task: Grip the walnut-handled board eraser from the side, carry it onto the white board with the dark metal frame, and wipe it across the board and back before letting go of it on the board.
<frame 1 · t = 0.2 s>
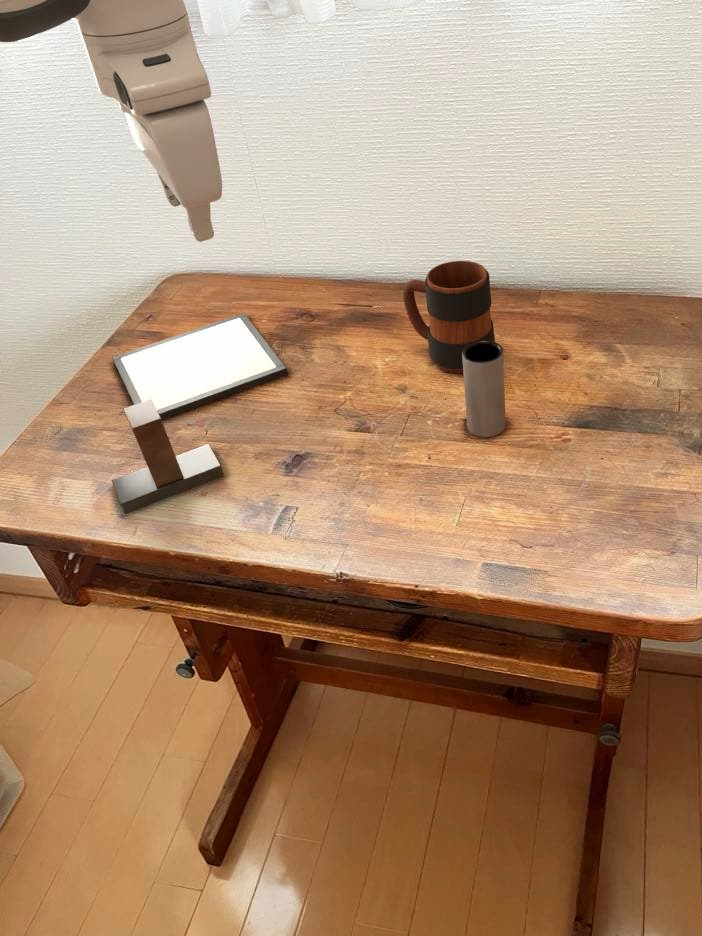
hand: (190, 219, 80), 29 cm above the table, tool pointing down, fingers open, 8 cm apart
mug: (451, 356, 111), on the table
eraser: (169, 482, 98), on the table
board: (198, 368, 115), on the table
planter: (486, 427, 99), on the table
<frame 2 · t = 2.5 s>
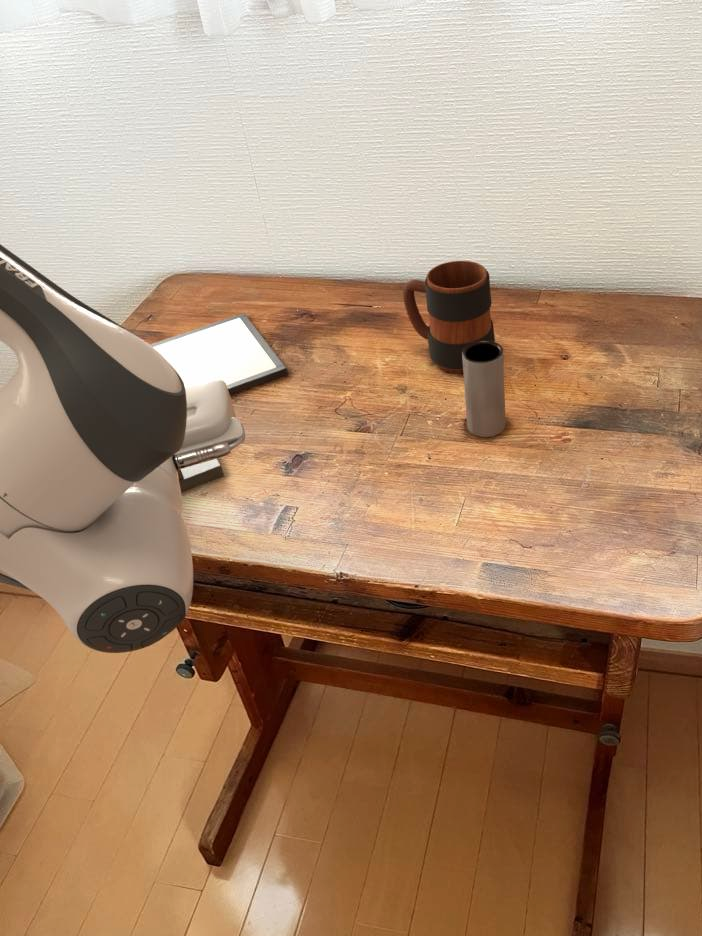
hand: (113, 393, 76), 20 cm above the table, tool horizontal, fingers open, 8 cm apart
nothing on the table moved.
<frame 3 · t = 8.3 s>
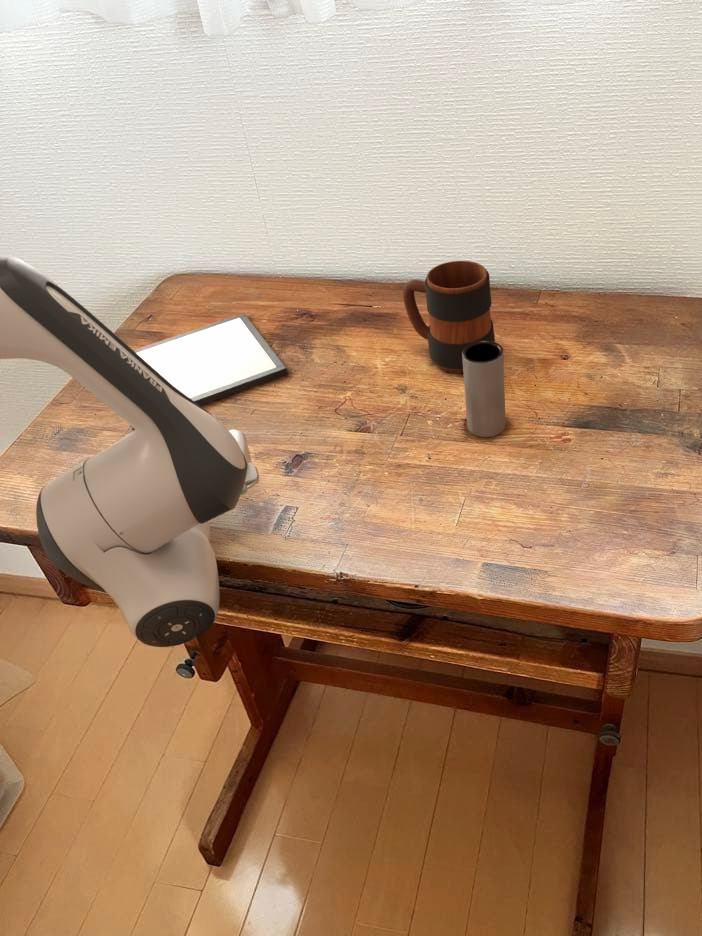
hand: (152, 437, 94), 6 cm above the table, tool horizontal, fingers closed on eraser, 3 cm apart
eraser: (170, 482, 98), on the table, touching gripper
everything else where it was.
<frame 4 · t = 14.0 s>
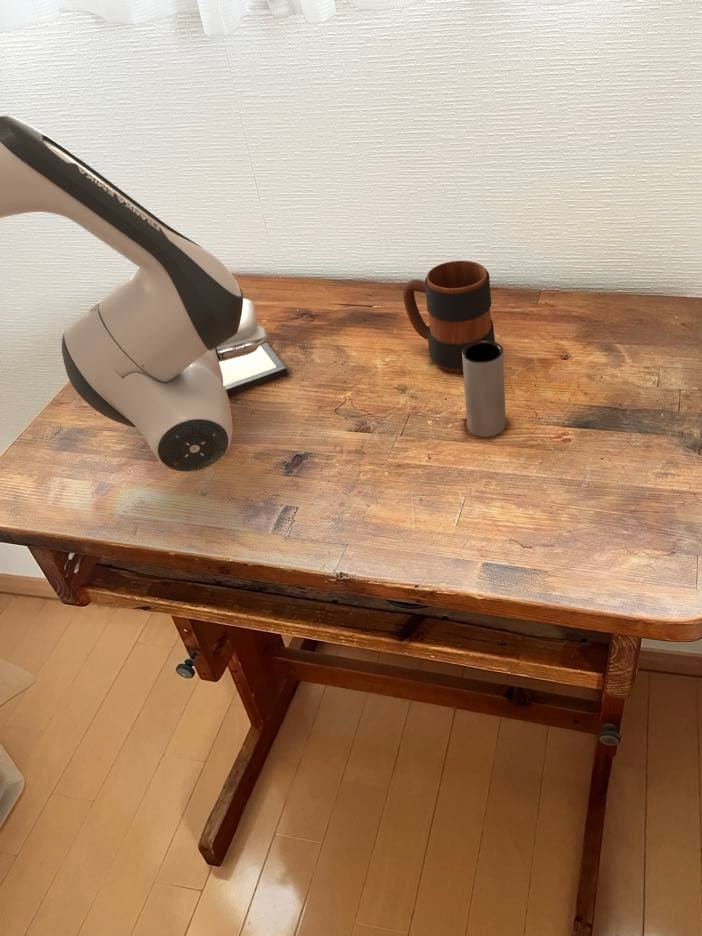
hand: (169, 310, 103), 12 cm above the table, tool horizontal, fingers closed on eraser, 3 cm apart
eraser: (184, 356, 106), point 6 cm above the table, touching gripper
everything else where it was.
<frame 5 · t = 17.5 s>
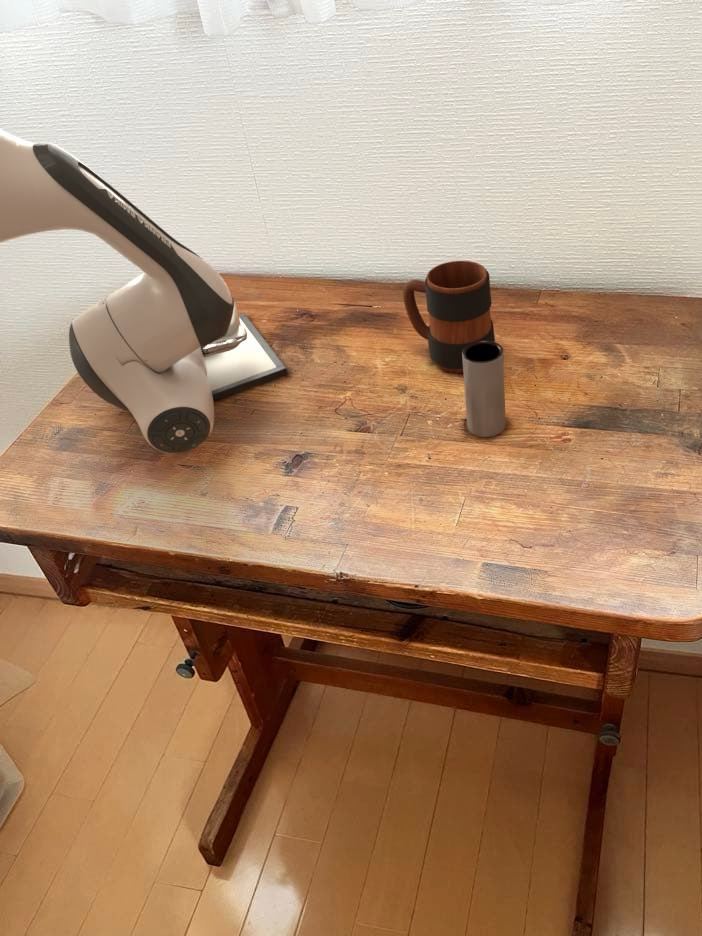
hand: (159, 311, 114), 7 cm above the table, tool horizontal, fingers closed on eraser, 3 cm apart
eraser: (174, 352, 117), point 1 cm above the table, touching gripper
everything else where it was.
when the fingers open (7 cm above the table, at t = 20.2 s): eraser stays where it is, resting on board.
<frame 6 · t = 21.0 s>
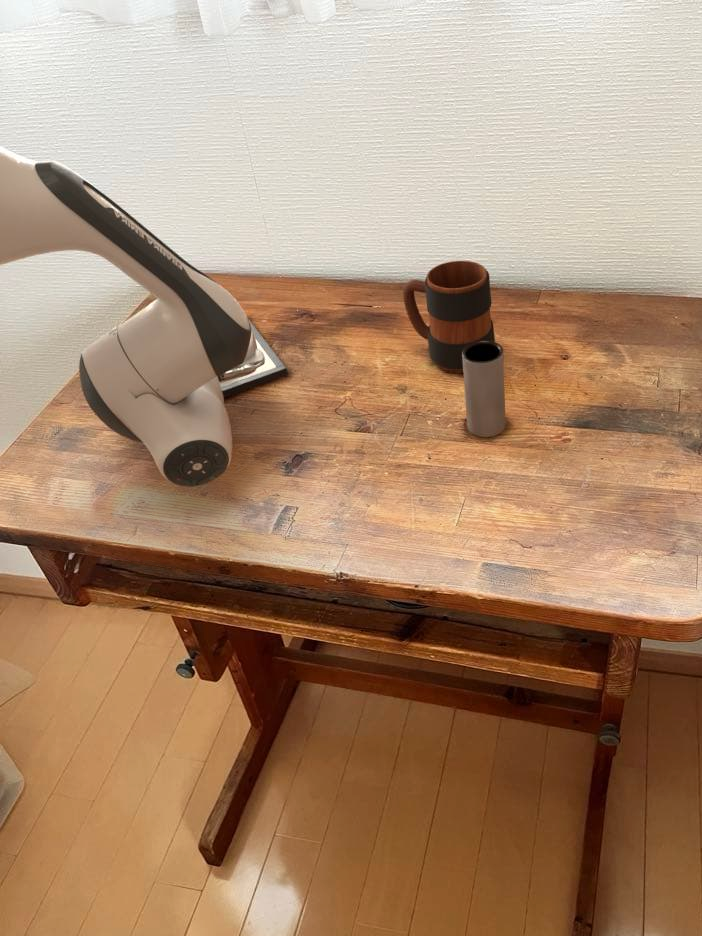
hand: (172, 332, 109), 7 cm above the table, tool horizontal, fingers open, 8 cm apart
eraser: (187, 375, 112), point 1 cm above the table, touching board
everything else where it was.
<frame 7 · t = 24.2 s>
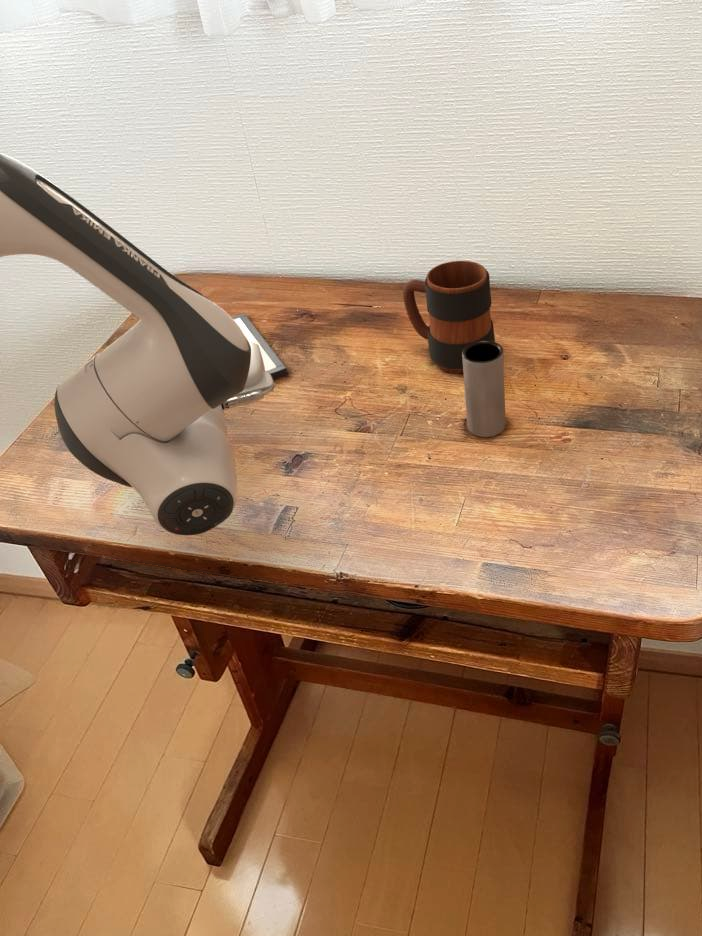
hand: (169, 352, 97), 11 cm above the table, tool horizontal, fingers open, 8 cm apart
nothing on the table moved.
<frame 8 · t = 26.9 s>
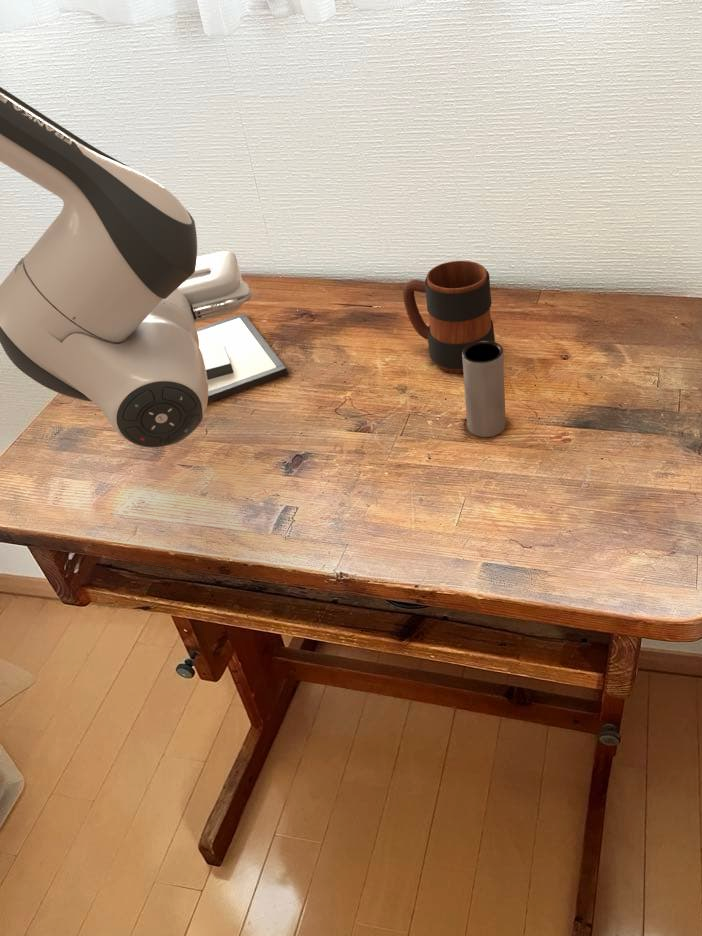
hand: (139, 266, 89), 22 cm above the table, tool horizontal, fingers open, 8 cm apart
nothing on the table moved.
at the end: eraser inside the target area on the board (2.4 cm from its centre), point 1.0 cm above the board's base; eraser moved 21.2 cm from its start; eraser tilted 0° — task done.
